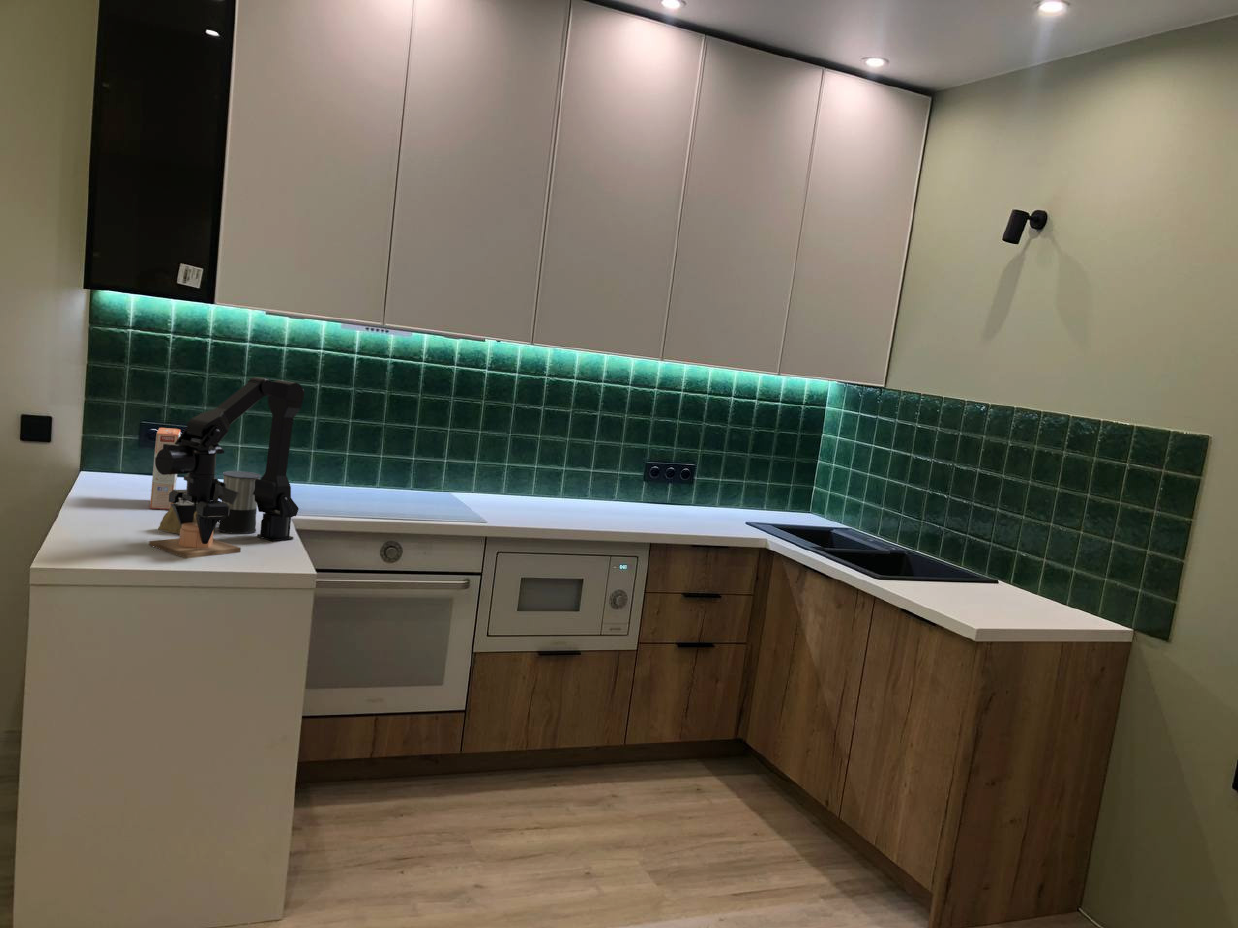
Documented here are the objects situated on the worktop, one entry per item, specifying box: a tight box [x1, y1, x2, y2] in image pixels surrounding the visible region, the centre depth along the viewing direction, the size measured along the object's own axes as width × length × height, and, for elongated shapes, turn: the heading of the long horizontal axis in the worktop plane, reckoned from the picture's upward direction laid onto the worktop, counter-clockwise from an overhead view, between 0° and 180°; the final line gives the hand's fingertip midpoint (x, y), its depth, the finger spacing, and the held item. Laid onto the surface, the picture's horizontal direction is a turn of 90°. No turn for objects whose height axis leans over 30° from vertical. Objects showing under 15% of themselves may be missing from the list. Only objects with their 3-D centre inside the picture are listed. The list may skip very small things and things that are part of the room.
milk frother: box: [217, 470, 262, 535], centre depth 253 cm, size 14×16×15 cm
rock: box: [157, 503, 199, 535], centre depth 243 cm, size 11×9×10 cm
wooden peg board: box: [148, 537, 241, 559], centre depth 229 cm, size 14×14×4 cm
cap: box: [178, 522, 214, 548], centre depth 229 cm, size 7×7×4 cm
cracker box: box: [149, 427, 181, 511], centre depth 273 cm, size 14×6×21 cm, turn 22°
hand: (195, 539), depth 229 cm, fingers open, 9 cm apart
